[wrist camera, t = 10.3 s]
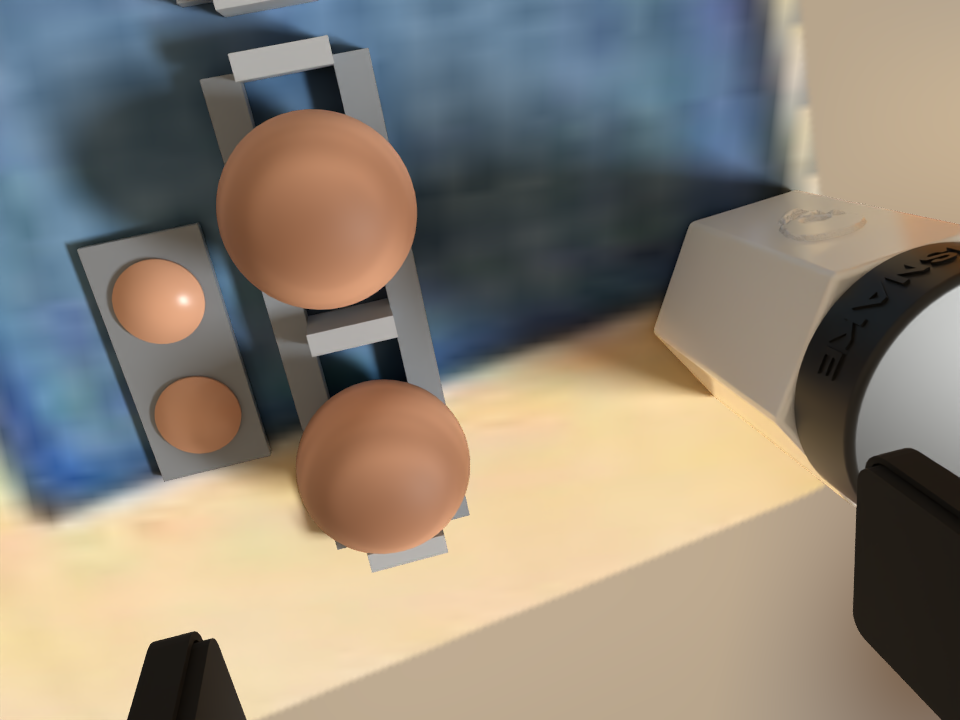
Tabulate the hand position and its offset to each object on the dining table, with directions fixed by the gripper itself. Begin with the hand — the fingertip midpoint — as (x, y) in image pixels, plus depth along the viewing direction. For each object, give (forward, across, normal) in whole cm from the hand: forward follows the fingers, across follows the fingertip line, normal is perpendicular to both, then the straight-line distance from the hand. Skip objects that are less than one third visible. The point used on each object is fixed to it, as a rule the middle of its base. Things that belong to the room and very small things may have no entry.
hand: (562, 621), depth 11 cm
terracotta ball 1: (+19, +2, -4) cm, 19 cm away
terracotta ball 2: (+18, +2, +5) cm, 19 cm away
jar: (+19, -14, +4) cm, 24 cm away
